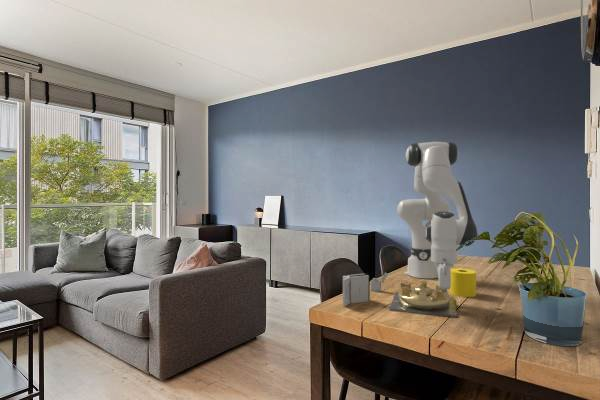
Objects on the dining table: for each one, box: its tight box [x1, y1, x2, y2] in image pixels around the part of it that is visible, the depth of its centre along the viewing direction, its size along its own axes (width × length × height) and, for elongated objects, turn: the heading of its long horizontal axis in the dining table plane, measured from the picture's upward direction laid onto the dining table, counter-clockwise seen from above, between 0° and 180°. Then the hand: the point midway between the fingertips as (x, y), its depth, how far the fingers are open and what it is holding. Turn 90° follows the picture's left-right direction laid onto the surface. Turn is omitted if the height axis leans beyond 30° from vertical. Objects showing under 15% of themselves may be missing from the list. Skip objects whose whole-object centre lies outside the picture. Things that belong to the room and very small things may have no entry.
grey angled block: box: [370, 272, 389, 292], centre depth 149 cm, size 7×2×8 cm, turn 68°
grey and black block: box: [342, 273, 371, 308], centre depth 134 cm, size 14×5×10 cm, turn 124°
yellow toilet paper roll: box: [449, 267, 477, 298], centre depth 144 cm, size 10×10×9 cm
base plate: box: [389, 291, 458, 319], centre depth 130 cm, size 22×22×1 cm
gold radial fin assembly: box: [397, 280, 450, 310], centre depth 130 cm, size 18×18×6 cm
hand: (443, 294), depth 126 cm, fingers closed
